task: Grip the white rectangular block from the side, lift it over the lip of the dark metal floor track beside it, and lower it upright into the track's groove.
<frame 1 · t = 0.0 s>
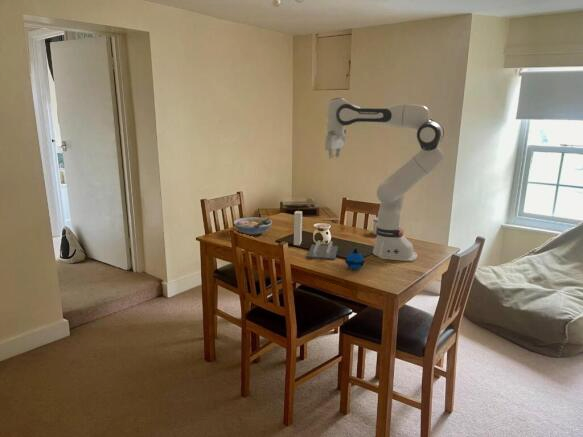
hand: (334, 157, 228), 48 cm above the table, tool pointing down, fingers open, 8 cm apart
white rectangular block: (297, 243, 241), on the table
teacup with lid: (381, 233, 265), on the table
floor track: (322, 252, 226), on the table
ramen bowl: (252, 234, 259), on the table
ornament: (354, 269, 203), on the table
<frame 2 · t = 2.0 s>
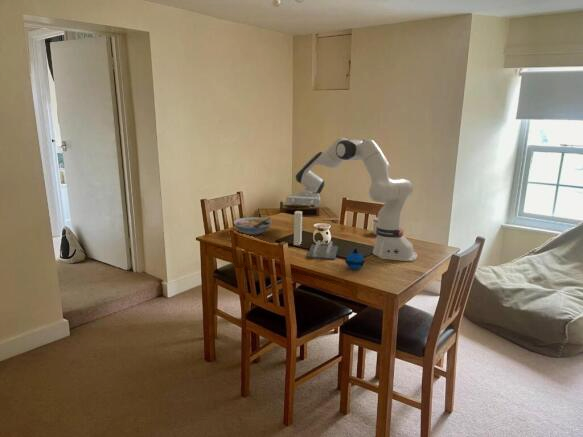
hand: (301, 202, 247), 21 cm above the table, tool horizontal, fingers open, 8 cm apart
nothing on the table moved.
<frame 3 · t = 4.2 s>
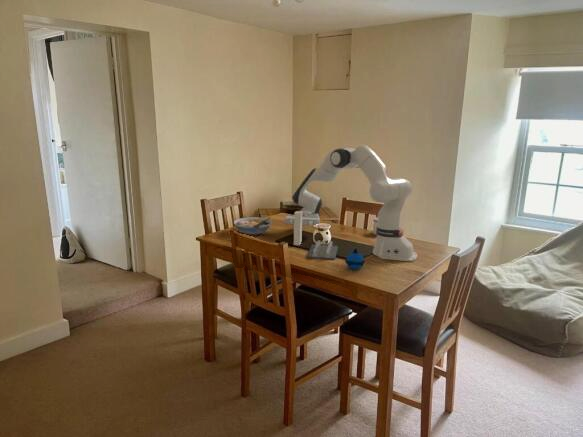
hand: (300, 223, 245), 10 cm above the table, tool horizontal, fingers open, 8 cm apart
nothing on the table moved.
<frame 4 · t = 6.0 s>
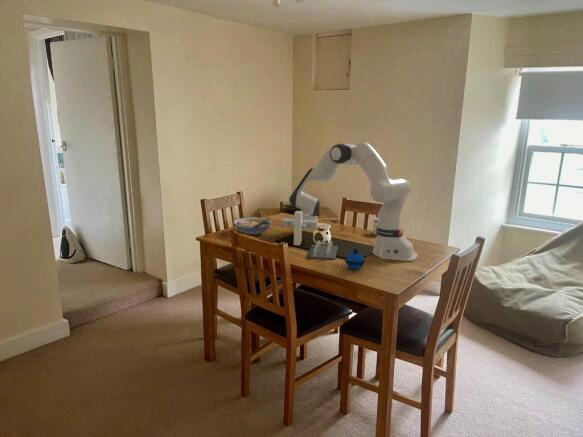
hand: (298, 226, 238), 10 cm above the table, tool horizontal, fingers closed on white rectangular block, 3 cm apart
white rectangular block: (297, 243, 241), on the table, touching gripper
everything else where it was.
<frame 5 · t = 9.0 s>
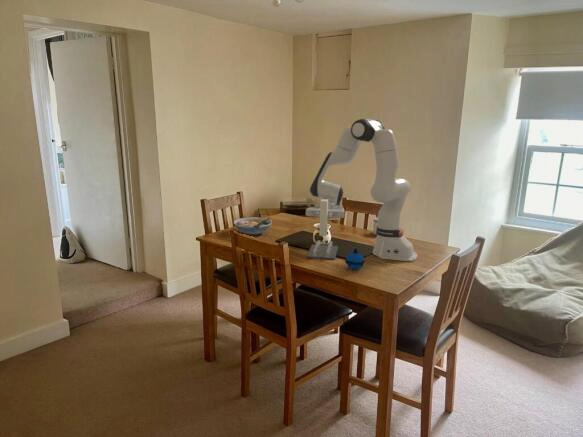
hand: (323, 215, 222), 20 cm above the table, tool horizontal, fingers closed on white rectangular block, 3 cm apart
white rectangular block: (323, 234, 224), point 10 cm above the table, touching gripper
everything else where it was.
when the fingers open (12 cm above the table, at t = 11.7 s): white rectangular block moves 1 cm, resting on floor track.
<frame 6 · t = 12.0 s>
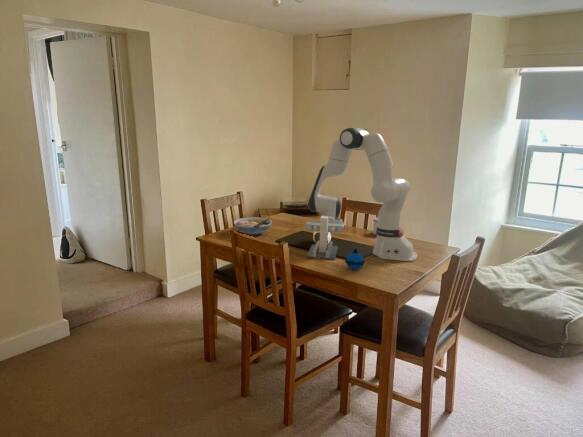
hand: (323, 230, 223), 12 cm above the table, tool horizontal, fingers open, 6 cm apart
white rectangular block: (323, 250, 226), point 1 cm above the table, touching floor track
everything else where it was.
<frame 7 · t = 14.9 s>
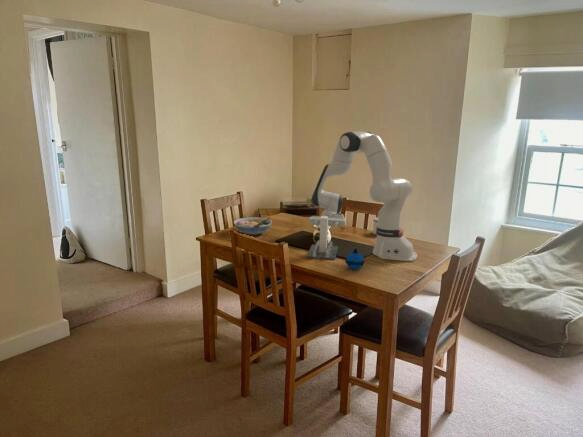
hand: (325, 224, 235), 12 cm above the table, tool horizontal, fingers open, 8 cm apart
nothing on the table moved.
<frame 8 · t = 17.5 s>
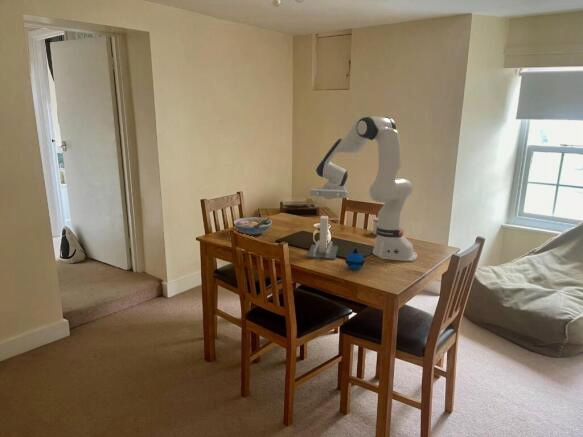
hand: (327, 195, 231), 28 cm above the table, tool horizontal, fingers open, 8 cm apart
nothing on the table moved.
at the end: white rectangular block 0.1 cm off-centre on the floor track, point 1.0 cm above the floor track's base; white rectangular block tilted 0°; the gripper is holding nothing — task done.
